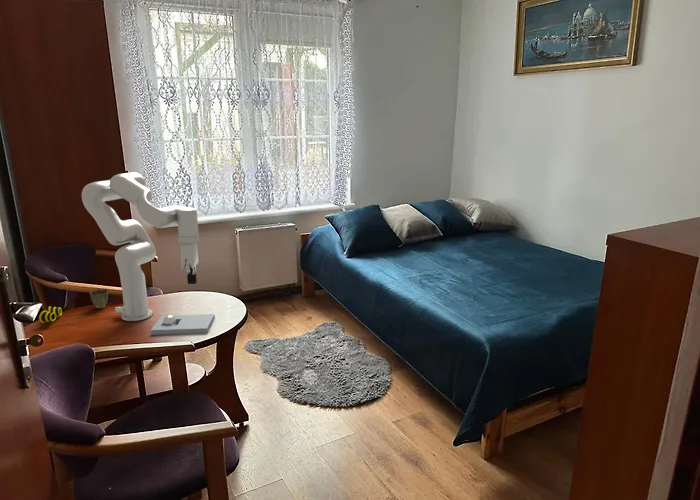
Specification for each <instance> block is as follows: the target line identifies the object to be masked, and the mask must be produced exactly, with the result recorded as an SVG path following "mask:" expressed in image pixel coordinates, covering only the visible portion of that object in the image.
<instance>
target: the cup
mask: <svg viewBox="0 0 700 500" xmlns="http://www.w3.org/2000/svg"><path fill="white" fill-rule="evenodd" d="M89 295H90V300H91V302H92V304H93V305H94V306H95V308H96V309H98V310H101V309H105V308H106V304H107V303H108V301H109V299H108V298H109V297H108V296H109V289H107V288H102V289H101V288H99V289H98V288H97V289H94V290H91V291H89Z"/></svg>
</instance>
